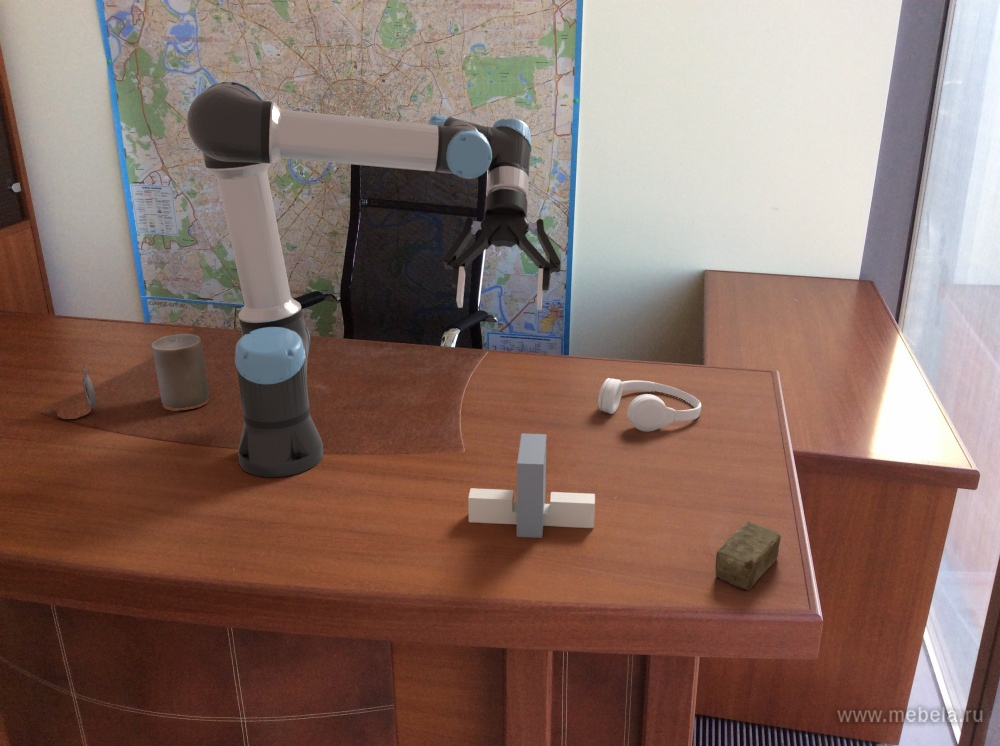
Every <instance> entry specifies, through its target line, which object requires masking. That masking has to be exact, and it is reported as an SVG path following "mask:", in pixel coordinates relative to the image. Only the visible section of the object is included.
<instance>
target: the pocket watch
mask: <svg viewBox="0 0 1000 746" xmlns="http://www.w3.org/2000/svg"><path fill="white" fill-rule="evenodd" d="M82 373H83V377H82V385H83V386H82V387H83V391H84V395H85V398H86V401H87V404H89V405H90V407H92V409H93V408H96V407H97V398H96V393H95V388H94V385H93V383H92V379H91V378H90V376H89V375H88V367H87V364H84V365H83V370H82Z"/></svg>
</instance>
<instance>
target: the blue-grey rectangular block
mask: <svg viewBox="0 0 1000 746" xmlns="http://www.w3.org/2000/svg"><path fill="white" fill-rule="evenodd" d="M546 471H547V434H546V433H545V434H544V433H543V434H541V433H524V432H522V433H521V434H520V442H519V449H518V456H517V461H516V502H517V524H516V537H519V538H537V539H538V538H539V539H543V532H544V526H543V512H544V504H546V479H547V477H546V475H547V472H546Z"/></svg>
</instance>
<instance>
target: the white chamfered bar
mask: <svg viewBox="0 0 1000 746" xmlns="http://www.w3.org/2000/svg"><path fill="white" fill-rule="evenodd" d="M469 489H470V490H469V494H468V501H467V502H468V503H467V504H468V506H467V507H468V522H469V523H481V524H499V525H501V524H503V525H517V501H515V499H514V498H515V491H514V490H513V489H498V488H497V489H495V488H475V487H474V488H473V487H471V488H469ZM595 507H596V494H595V493H587V492H586V493H581V492H564V491H563V492H561V491H560V492H559V491H550V500H549V503H545V504H544V512H543V527H560V528H561V527H564V528H581V529H583V528H585V529H594V528H595V515H596V513H595V512H596V508H595Z"/></svg>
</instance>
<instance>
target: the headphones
mask: <svg viewBox="0 0 1000 746" xmlns="http://www.w3.org/2000/svg"><path fill="white" fill-rule="evenodd" d="M645 391H647V392H646V393H645V394H640V395H637V396H635V398H633V400H631V401H630V403H629V404H628V406H627V411H626V415H627V419H628V421H629V423H631V425H633V427H635V428H636V429H637V430H639V431H641V432H646V433H647V432H648V433H649V432H653V431H656V430H659V429H660V428H662V427H665V426H668V425H671V424H672V423H675V422H676V423H677V422H688V421H689V422H690V421H695V420H696V419H698V418H699V416H700V414H701V411H702V403H701V401H700V400H699V398H696V397H695V396H694V395H692V394H690V393H688V392H686V391H683V390H681V389H678V388H676V387H673V386H671V385H667V384H664V383H663V384H662V383H657V382H653V381H648V380H626V381H621V379H617V378H616V379H615V378H610V377H608V378H606V379H605V380H604V381H603V383H602V385H601V387H600V390H599V393H598V398H597V399H598V402H597V404H598V409H599V411H600V412H604V413H607V414H610V415H612V414H613V415H614V414H615V413H616V412H617V410H618V408H619V405H620V402H621V398H622V396H623V395H622V394H623V392H645ZM651 391H658V392H663V393H667V394H671V395H674V396H677V397H679V398H681V399H683V400H685V401H686V402H685V401H684V402H685V403H687V402H688V404H689V403H690V404H689V405H690V406H692V407H693V408H691V409H685V410H684V409H682V410H680V409H679V410H678V409H677V410H676V409H674V408H672V407H667V406H666V403H665V402H664V401H663V399H661V398H660V397H658V396H656V394H655V395H654V394H651V393H652V392H651ZM648 393H649V394H648ZM679 398H678V399H679ZM681 399H680V400H681ZM683 400H682V401H683Z"/></svg>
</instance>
